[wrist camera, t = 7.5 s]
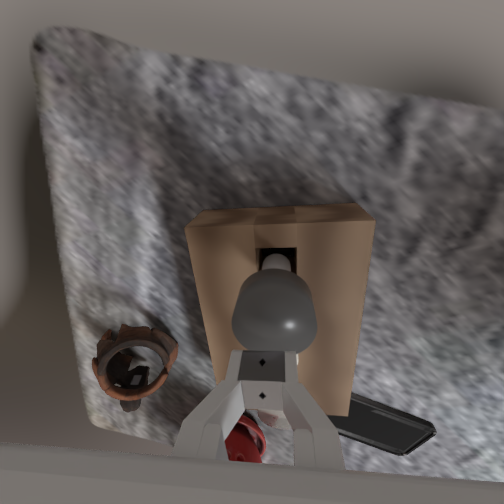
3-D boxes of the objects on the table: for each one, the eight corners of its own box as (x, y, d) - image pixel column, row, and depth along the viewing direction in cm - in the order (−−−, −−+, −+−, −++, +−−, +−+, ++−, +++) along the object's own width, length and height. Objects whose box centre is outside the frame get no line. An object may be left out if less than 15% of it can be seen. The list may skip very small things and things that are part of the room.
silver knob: (301, 343, 28) (306, 401, 22) (300, 370, 30) (305, 431, 24) (261, 342, 29) (256, 398, 23) (264, 369, 31) (259, 427, 25)
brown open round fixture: (98, 308, 31) (78, 342, 24) (174, 300, 34) (179, 326, 27) (106, 390, 33) (91, 445, 26) (178, 374, 37) (183, 419, 29)
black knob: (306, 238, 18) (318, 291, 12) (305, 290, 20) (316, 359, 14) (245, 240, 19) (226, 291, 12) (250, 290, 20) (236, 356, 14)
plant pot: (250, 394, 34) (235, 512, 23) (279, 447, 39) (278, 565, 28) (172, 405, 37) (128, 513, 27) (208, 452, 42) (183, 560, 31)
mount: (356, 202, 21) (375, 220, 17) (338, 375, 30) (347, 416, 26) (203, 210, 23) (184, 227, 19) (229, 370, 32) (221, 407, 28)
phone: (403, 457, 35) (309, 423, 34) (399, 448, 36) (308, 415, 35) (441, 430, 32) (337, 392, 31) (436, 421, 33) (336, 384, 32)
